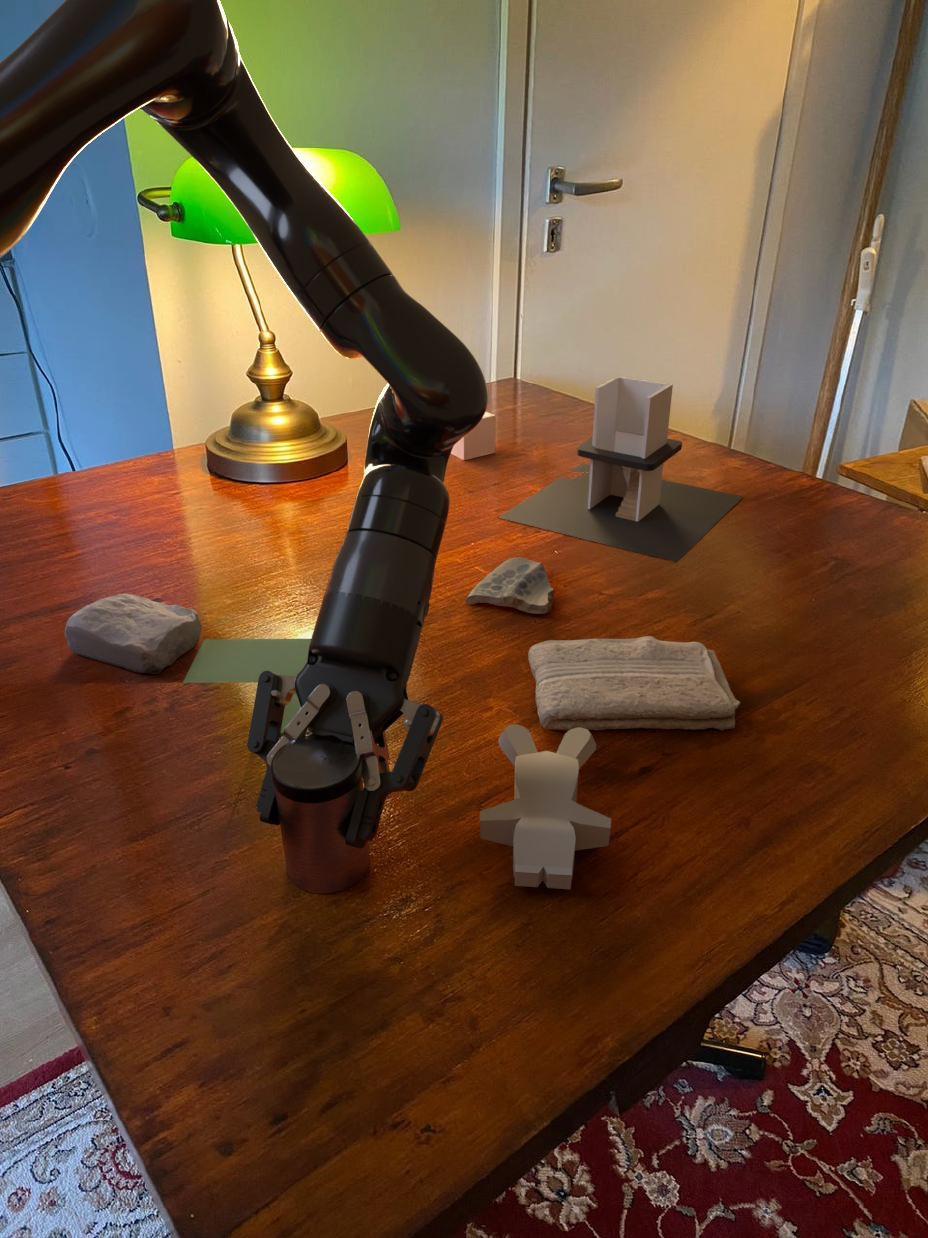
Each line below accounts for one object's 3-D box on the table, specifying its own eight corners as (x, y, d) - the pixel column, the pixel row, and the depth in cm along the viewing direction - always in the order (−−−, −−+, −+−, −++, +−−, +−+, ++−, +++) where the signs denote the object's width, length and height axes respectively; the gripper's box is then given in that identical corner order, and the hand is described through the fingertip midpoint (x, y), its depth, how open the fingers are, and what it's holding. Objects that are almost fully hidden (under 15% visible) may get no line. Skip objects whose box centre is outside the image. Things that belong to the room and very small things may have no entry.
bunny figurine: (473, 853, 61) (489, 704, 73) (474, 900, 64) (489, 750, 76) (615, 862, 60) (608, 710, 72) (609, 909, 63) (603, 756, 75)
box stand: (497, 517, 120) (498, 395, 112) (581, 463, 138) (588, 354, 130) (676, 562, 108) (691, 428, 100) (743, 496, 126) (761, 378, 118)
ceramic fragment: (543, 613, 94) (460, 580, 98) (538, 637, 96) (457, 604, 100) (584, 571, 102) (506, 542, 106) (579, 594, 104) (503, 565, 108)
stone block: (130, 626, 100) (57, 654, 91) (129, 585, 98) (55, 609, 89) (217, 653, 95) (149, 685, 87) (218, 611, 94) (148, 639, 85)
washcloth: (743, 733, 79) (748, 704, 77) (538, 738, 79) (539, 708, 77) (708, 660, 89) (712, 633, 88) (526, 664, 89) (527, 637, 88)
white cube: (464, 460, 140) (463, 422, 137) (442, 449, 144) (441, 412, 141) (495, 452, 143) (495, 415, 140) (473, 442, 147) (473, 405, 144)
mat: (158, 738, 79) (157, 733, 79) (204, 643, 93) (204, 639, 93) (363, 737, 79) (363, 732, 79) (379, 642, 93) (379, 637, 93)
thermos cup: (279, 895, 64) (262, 790, 59) (294, 833, 69) (279, 733, 64) (366, 894, 63) (356, 789, 59) (374, 833, 69) (365, 732, 64)
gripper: (265, 574, 65) (194, 806, 61) (453, 606, 61) (388, 858, 57) (309, 605, 72) (247, 815, 68) (479, 636, 68) (423, 862, 64)
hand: (312, 834), depth 63 cm, fingers closed on thermos cup, 6 cm apart
